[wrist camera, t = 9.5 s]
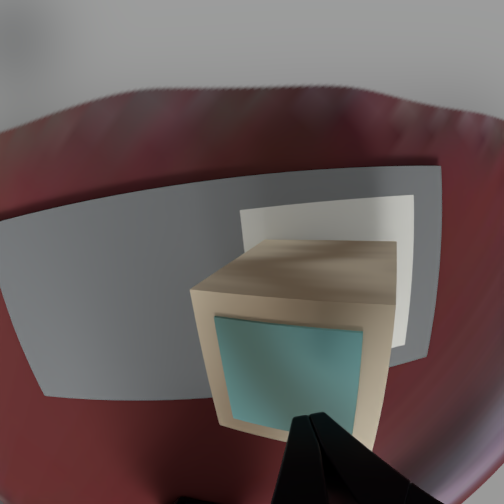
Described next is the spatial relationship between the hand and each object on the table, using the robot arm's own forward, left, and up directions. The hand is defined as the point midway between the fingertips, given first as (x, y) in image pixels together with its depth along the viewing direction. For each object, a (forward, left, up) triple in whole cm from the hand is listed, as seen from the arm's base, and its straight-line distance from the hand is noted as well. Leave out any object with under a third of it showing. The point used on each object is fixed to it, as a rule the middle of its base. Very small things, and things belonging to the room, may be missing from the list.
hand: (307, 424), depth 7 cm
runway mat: (+2, +2, -9) cm, 9 cm away
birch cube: (0, 0, -2) cm, 2 cm away
